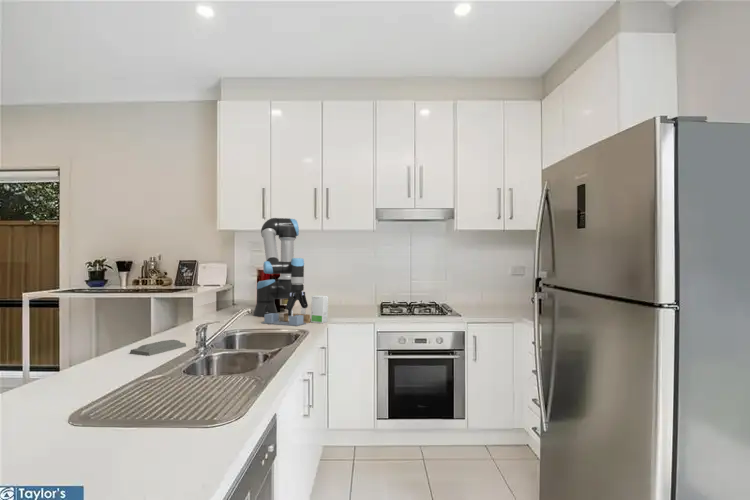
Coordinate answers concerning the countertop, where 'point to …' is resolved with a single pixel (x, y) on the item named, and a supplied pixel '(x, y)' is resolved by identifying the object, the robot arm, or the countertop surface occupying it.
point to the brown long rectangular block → (305, 316)
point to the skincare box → (319, 309)
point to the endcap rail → (274, 319)
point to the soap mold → (158, 347)
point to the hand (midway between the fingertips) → (296, 320)
